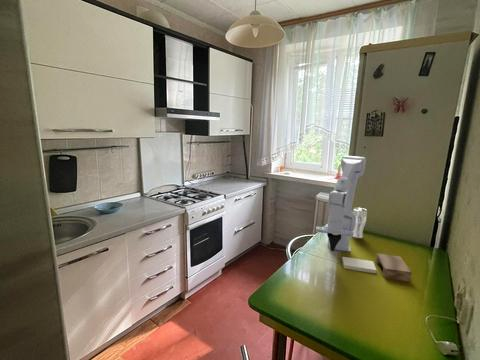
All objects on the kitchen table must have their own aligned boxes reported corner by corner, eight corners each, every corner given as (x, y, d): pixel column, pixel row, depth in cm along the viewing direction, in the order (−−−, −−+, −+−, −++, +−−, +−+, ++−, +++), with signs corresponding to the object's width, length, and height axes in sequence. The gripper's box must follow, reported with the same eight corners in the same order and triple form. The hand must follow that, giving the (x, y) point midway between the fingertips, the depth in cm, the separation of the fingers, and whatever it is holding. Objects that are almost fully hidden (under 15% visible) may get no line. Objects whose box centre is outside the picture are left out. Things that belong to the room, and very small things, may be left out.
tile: (343, 269, 103) (344, 264, 103) (342, 260, 110) (342, 256, 110) (375, 274, 100) (376, 270, 100) (372, 265, 107) (372, 261, 106)
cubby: (383, 277, 97) (385, 268, 97) (375, 261, 109) (376, 253, 108) (409, 281, 95) (411, 272, 95) (398, 265, 107) (400, 256, 106)
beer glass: (348, 236, 133) (352, 210, 130) (349, 232, 139) (353, 206, 136) (363, 240, 130) (367, 212, 126) (363, 235, 136) (367, 208, 132)
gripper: (317, 220, 101) (314, 251, 104) (356, 225, 98) (352, 257, 101) (317, 215, 108) (314, 244, 111) (353, 219, 105) (349, 249, 108)
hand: (332, 249), depth 106 cm, fingers closed
